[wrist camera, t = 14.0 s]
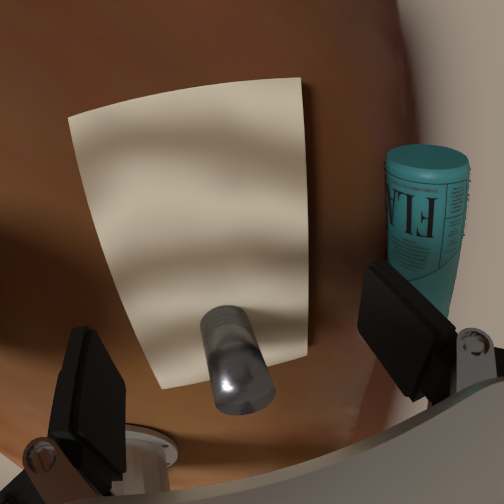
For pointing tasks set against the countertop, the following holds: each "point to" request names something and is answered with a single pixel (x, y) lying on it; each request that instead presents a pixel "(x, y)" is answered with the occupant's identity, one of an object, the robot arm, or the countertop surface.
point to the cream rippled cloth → (202, 215)
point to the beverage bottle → (427, 217)
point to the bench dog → (235, 362)
